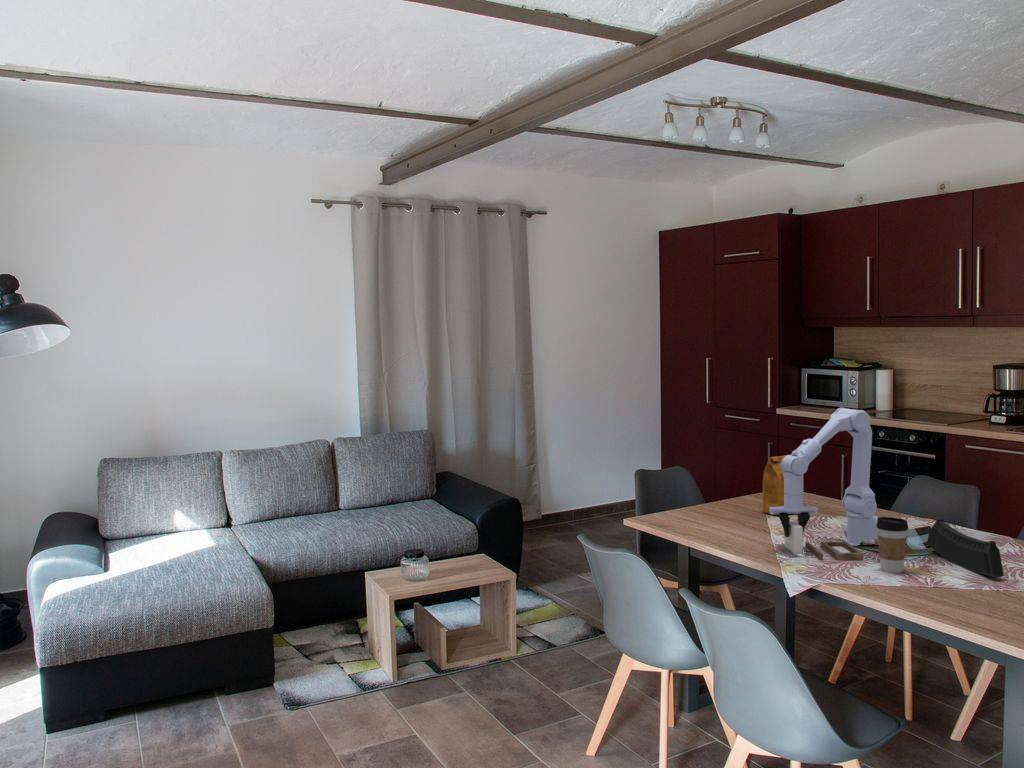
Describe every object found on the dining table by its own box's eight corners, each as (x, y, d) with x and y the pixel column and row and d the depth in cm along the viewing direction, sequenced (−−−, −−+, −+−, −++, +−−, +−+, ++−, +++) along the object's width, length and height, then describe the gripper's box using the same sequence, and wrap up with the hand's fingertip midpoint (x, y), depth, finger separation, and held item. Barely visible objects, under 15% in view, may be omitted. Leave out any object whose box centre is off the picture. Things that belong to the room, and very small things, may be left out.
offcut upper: (841, 549, 258) (841, 546, 258) (851, 555, 251) (851, 552, 251) (831, 549, 258) (831, 546, 258) (841, 555, 251) (841, 552, 251)
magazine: (1010, 551, 222) (945, 497, 250) (999, 551, 221) (935, 498, 249) (997, 604, 228) (935, 546, 256) (986, 605, 227) (925, 546, 255)
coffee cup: (871, 565, 241) (871, 515, 240) (900, 565, 241) (900, 515, 240) (883, 574, 233) (883, 522, 232) (913, 574, 232) (913, 522, 231)
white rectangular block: (792, 545, 263) (792, 519, 263) (802, 554, 253) (802, 527, 253) (784, 545, 263) (784, 519, 263) (794, 554, 253) (794, 527, 253)
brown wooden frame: (845, 547, 261) (845, 541, 261) (863, 560, 247) (863, 553, 247) (804, 548, 261) (804, 542, 261) (820, 560, 247) (820, 554, 247)
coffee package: (803, 514, 307) (803, 455, 305) (777, 517, 302) (777, 458, 300) (785, 508, 316) (785, 452, 314) (759, 512, 311) (759, 455, 309)
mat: (797, 544, 265) (797, 543, 265) (812, 557, 251) (812, 556, 251) (775, 545, 265) (775, 544, 265) (789, 557, 251) (789, 556, 251)
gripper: (812, 490, 261) (812, 532, 262) (766, 491, 261) (766, 533, 262) (820, 495, 254) (820, 538, 255) (773, 496, 254) (773, 539, 255)
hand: (793, 536), depth 258 cm, fingers open, 4 cm apart
